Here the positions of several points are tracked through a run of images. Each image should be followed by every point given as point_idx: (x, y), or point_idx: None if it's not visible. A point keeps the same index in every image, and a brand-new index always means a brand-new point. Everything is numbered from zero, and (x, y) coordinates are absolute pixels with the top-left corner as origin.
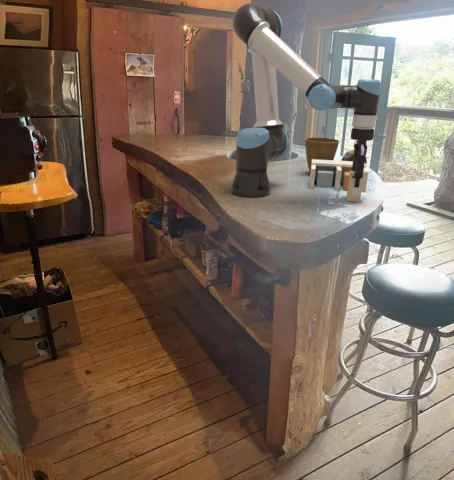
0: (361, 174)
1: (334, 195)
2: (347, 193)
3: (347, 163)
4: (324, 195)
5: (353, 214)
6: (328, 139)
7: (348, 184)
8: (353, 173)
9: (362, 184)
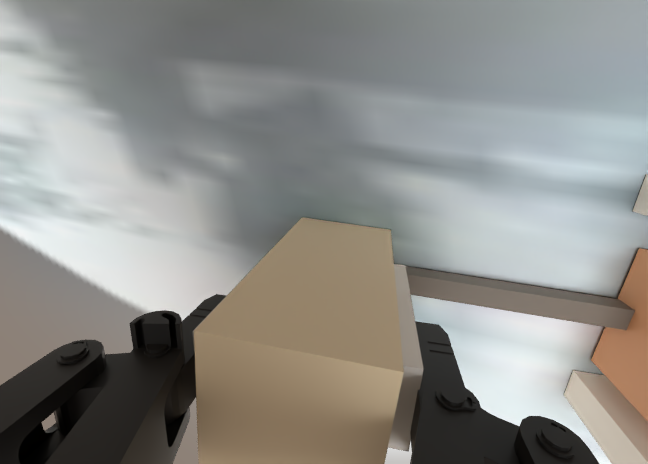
0: (43, 433)
1: (447, 143)
2: (338, 236)
3: None
4: (439, 48)
5: (35, 201)
6: None
7: (348, 267)
8: (205, 370)
9: (613, 420)
